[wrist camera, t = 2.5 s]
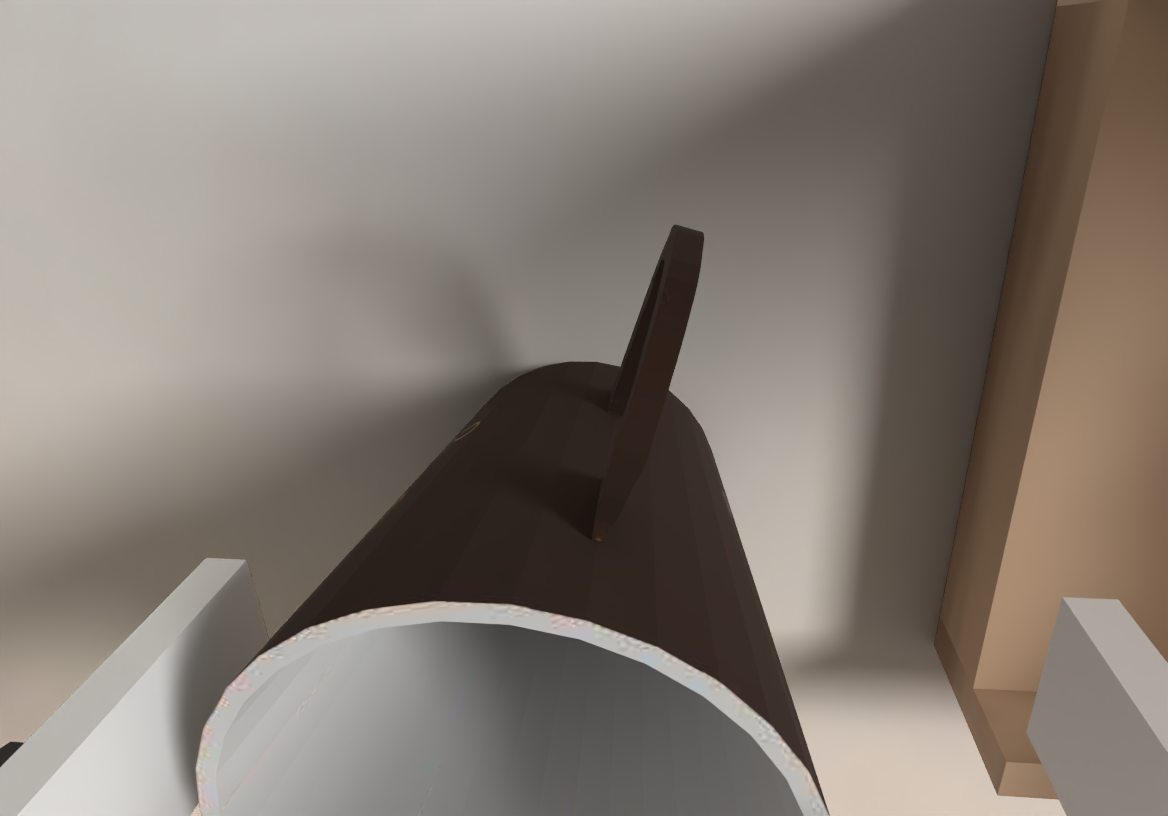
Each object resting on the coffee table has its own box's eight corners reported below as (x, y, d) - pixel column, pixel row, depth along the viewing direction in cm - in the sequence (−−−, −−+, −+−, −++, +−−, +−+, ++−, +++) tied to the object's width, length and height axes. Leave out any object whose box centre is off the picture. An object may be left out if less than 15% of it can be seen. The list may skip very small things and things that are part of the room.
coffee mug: (604, 662, 22) (550, 1095, 13) (359, 481, 20) (97, 831, 11) (940, 392, 17) (1224, 772, 8) (659, 127, 15) (627, 236, 6)
